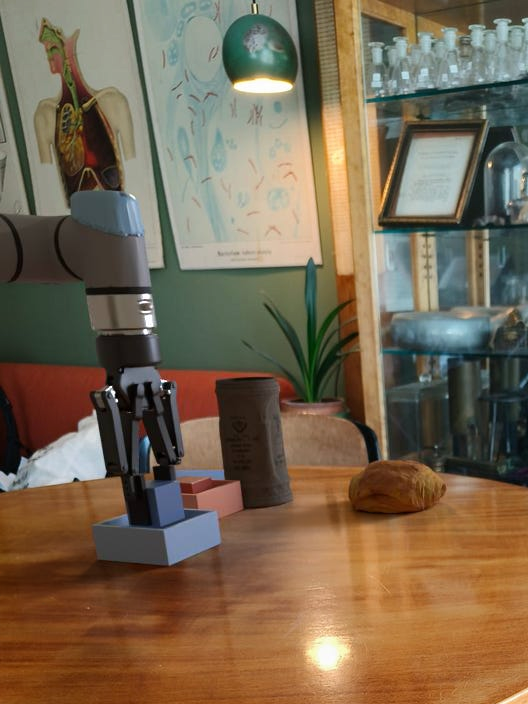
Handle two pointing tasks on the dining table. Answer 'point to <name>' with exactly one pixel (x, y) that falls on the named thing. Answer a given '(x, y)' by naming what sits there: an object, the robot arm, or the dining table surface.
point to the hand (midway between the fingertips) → (156, 519)
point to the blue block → (163, 502)
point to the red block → (194, 484)
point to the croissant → (395, 487)
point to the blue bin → (156, 539)
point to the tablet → (202, 473)
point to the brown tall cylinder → (253, 439)
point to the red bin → (217, 498)
